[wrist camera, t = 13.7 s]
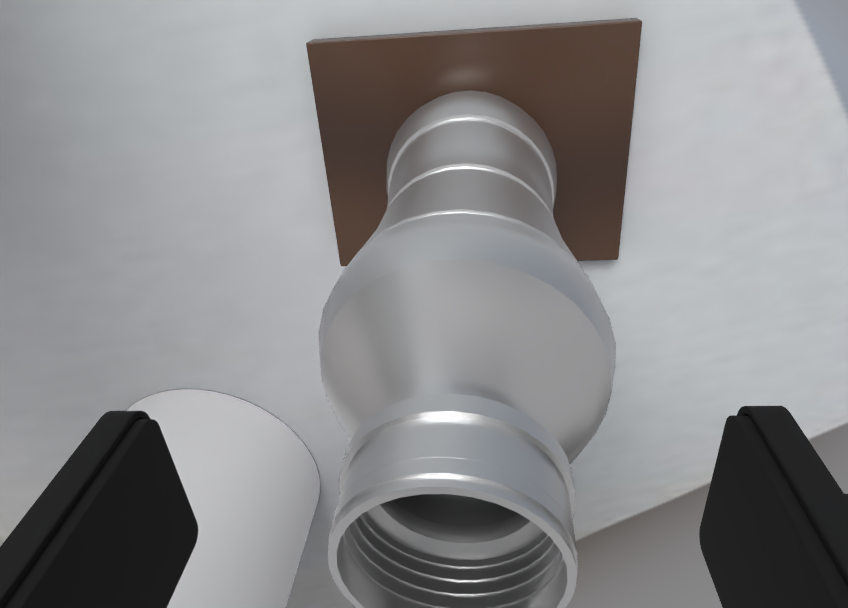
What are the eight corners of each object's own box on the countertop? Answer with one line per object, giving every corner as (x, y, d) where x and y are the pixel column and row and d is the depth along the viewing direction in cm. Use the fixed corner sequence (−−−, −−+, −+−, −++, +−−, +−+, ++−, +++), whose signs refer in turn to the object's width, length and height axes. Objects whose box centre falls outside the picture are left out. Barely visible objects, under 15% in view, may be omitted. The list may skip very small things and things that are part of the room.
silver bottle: (446, 44, 24) (349, 299, 7) (583, 139, 25) (799, 553, 8) (367, 177, 27) (159, 589, 10) (493, 255, 28) (508, 736, 11)
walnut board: (311, 39, 25) (305, 42, 24) (636, 18, 24) (642, 20, 23) (344, 257, 30) (340, 266, 29) (614, 250, 29) (618, 259, 28)
